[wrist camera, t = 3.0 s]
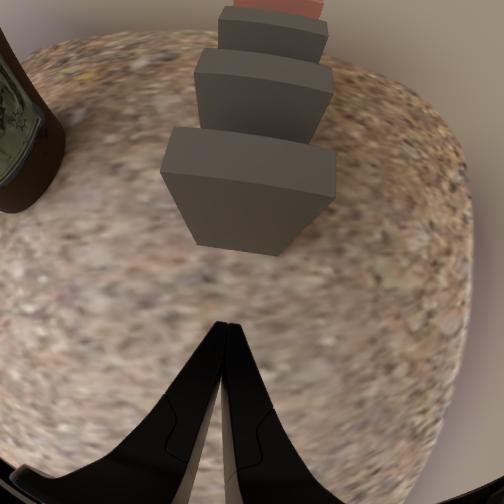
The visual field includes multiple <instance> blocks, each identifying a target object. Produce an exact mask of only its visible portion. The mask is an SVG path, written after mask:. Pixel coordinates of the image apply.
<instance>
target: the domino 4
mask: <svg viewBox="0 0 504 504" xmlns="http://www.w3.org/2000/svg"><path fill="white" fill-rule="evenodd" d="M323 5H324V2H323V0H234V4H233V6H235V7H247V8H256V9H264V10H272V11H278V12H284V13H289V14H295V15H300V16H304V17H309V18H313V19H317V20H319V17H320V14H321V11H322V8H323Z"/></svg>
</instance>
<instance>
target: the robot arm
mask: <svg viewBox="0 0 504 504" xmlns="http://www.w3.org/2000/svg"><path fill="white" fill-rule="evenodd" d="M221 375H222V377H221ZM220 381H221V406H222V438H223V462H224V481H225V498H226V504H345V503H344V502H342V501H341V500H340V499H338V498H337V497H336V496H334V495H333V494H332V493H331V492H329V491H328V490H327V489H325V488H324V487H323V486H322V485H321V484H320V483H319V482H318V481H317V480H316V479H315V478H314V477H313V475H312V474H311V473H310V471H309V470H308V468H307V467H306V465H305V464H304V462H303V460H302V459H301V457H300V456H299V454H298V453H297V451H296V450H295V448H294V446H293V445H292V443H291V441H290V440H289V438H288V436H287V434H286V433H285V431H284V429H283V427H282V425H281V422H280V420H279V418H278V416H277V413H276V411H275V409H274V408H273V404H272V402H271V399H270V397H269V395H268V392H267V390H266V387H265V385H264V382H263V380H262V378H261V375H260V373H259V370H258V368H257V365H256V363H255V360H254V358H253V355H252V352H251V350H250V347H249V345H248V342H247V340H246V337H245V334H244V332H243V329H242V327H241V325H240V324H235V323H229V324H228V323H227V322H221V321H216V322H215V323H214V325H213V326H212V327H211V329H210V330H209V332H208V333H207V334H206V336H205V337H204V339H203V340H202V342H201V343H200V344H199V346H198V347H197V349H196V350H195V351H194V353H193V354H192V356H191V357H190V358H189V360H188V361H187V363H186V364H185V365H184V367H183V368H182V370H181V371H180V372H179V374H178V375H177V377H176V378H175V379H174V381H173V382H172V383H171V385H170V386H169V388H168V389H167V390H166V392H165V394H163V396H162V397H161V399H160V400H159V401H158V403H157V404H156V405H155V406H154V408H153V409H152V410H151V412H150V413H149V414H148V415H147V416H146V417H145V418H144V419H143V421H142V422H141V423H140V424H139V425H138V426H137V427H136V428H135V429H134V430H133V431H132V432H131V433H130V434H129V435H128V436H127V437H126V438H125V439H124V440H123V441H122V442H121V443H120V444H119V445H118V446H117V447H116V448H115V449H113V450H112V451H111V452H110V453H108V454H107V455H106V456H104V457H103V458H101V459H99V460H97V461H95V462H93V463H91V464H89V465H87V466H84V467H82V468H80V469H78V470H76V471H74V472H71V473H69V474H67V475H65V476H62V477H59V478H56V477H54V476H51V475H49V474H47V473H44V472H42V471H40V470H38V469H35V468H33V467H31V466H29V465H26V464H23V465H21V466H20V467H19V468H15V467H14V466H12V465H11V464H9V463H8V462H7V461H5V460H4V459H3V458H1V457H0V504H188V503H189V499H190V495H191V491H192V488H193V484H194V480H195V476H196V472H197V469H198V465H199V461H200V457H201V454H202V450H203V446H204V442H205V439H206V435H207V431H208V427H209V424H210V420H211V416H212V412H213V408H214V405H215V401H216V397H217V393H218V390H219V386H220ZM437 504H504V476H502V477H500V478H498V479H497V480H494V481H492V482H490V483H488V484H486V485H484V486H481V487H479V488H477V489H474V490H472V491H469V492H467V493H465V494H462V495H459V496H456V497H454V498H451V499H448V500H445V501H442V502H439V503H437Z"/></svg>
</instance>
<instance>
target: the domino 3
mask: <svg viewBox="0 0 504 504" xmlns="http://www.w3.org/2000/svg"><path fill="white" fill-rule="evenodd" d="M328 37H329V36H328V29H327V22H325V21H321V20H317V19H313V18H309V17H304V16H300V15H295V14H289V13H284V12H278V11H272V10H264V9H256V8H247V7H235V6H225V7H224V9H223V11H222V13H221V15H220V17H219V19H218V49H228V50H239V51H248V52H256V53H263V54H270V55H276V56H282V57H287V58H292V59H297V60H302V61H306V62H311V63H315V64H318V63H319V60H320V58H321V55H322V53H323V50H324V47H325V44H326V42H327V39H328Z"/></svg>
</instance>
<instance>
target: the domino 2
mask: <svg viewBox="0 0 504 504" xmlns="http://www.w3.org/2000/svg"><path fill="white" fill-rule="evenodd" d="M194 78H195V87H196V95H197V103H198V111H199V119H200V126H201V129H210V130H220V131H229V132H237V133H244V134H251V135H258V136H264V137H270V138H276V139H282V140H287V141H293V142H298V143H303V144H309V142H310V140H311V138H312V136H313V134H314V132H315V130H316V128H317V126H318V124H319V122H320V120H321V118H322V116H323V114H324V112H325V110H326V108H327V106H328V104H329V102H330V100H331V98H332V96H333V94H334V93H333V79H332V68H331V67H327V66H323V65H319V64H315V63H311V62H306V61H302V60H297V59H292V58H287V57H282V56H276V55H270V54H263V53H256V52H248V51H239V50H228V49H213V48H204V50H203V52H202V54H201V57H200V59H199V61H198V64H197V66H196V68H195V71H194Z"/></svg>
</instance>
